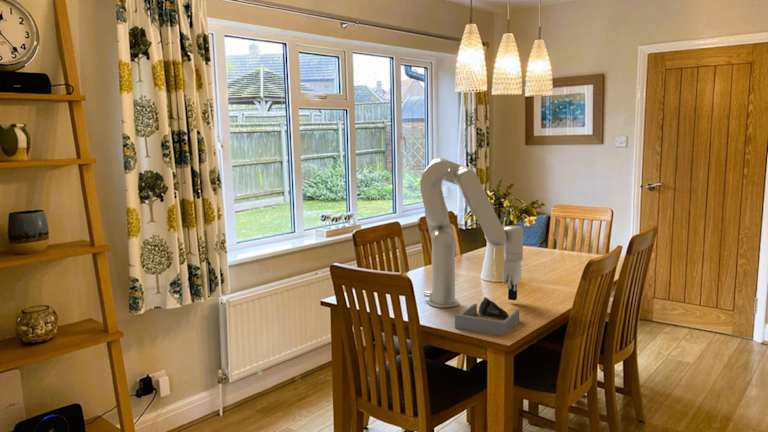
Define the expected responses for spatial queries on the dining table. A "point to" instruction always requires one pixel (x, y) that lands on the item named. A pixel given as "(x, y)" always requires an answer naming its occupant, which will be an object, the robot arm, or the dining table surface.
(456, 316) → the box
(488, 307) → the chocolate cake
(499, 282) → the dining table surface
